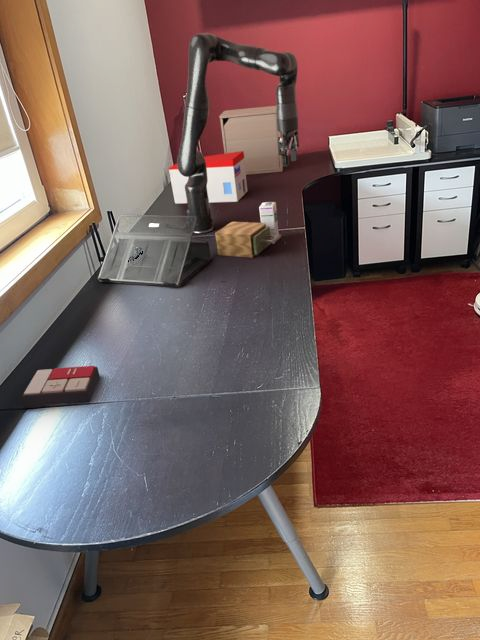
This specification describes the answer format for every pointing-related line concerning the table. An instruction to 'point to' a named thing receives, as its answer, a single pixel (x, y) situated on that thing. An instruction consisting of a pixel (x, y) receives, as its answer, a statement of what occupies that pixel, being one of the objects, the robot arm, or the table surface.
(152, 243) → the laptop stand
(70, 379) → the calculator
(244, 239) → the cabinet
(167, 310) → the table surface
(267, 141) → the cabinet
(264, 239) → the drawer
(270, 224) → the syrup box
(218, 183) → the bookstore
